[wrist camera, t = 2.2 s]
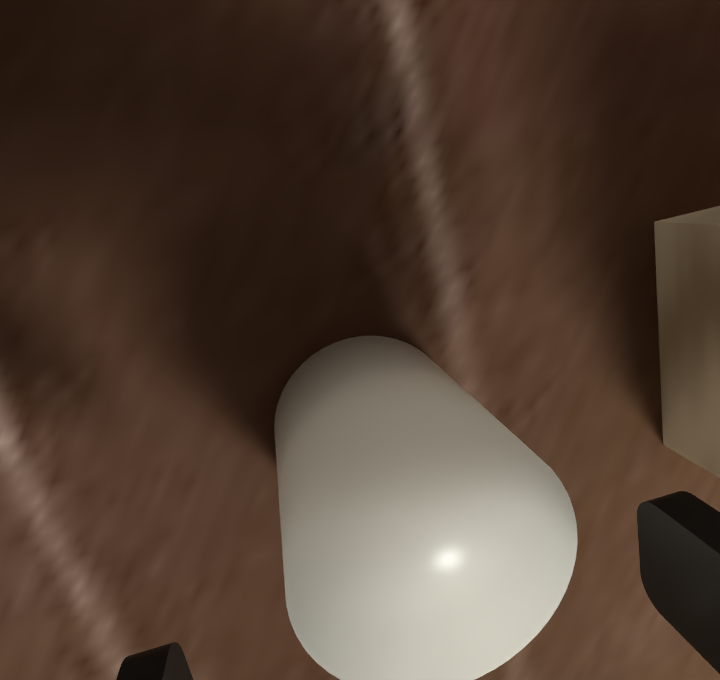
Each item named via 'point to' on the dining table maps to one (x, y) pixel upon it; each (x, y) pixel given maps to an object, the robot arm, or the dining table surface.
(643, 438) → the dining table surface
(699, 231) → the oak base block
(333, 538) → the white cylinder
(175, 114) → the dining table surface
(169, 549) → the dining table surface
